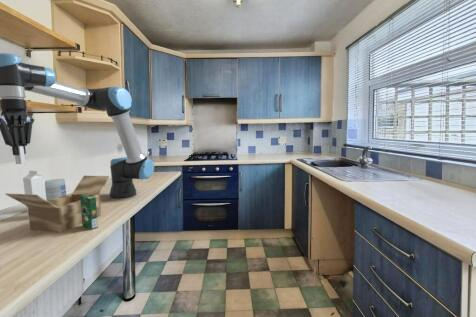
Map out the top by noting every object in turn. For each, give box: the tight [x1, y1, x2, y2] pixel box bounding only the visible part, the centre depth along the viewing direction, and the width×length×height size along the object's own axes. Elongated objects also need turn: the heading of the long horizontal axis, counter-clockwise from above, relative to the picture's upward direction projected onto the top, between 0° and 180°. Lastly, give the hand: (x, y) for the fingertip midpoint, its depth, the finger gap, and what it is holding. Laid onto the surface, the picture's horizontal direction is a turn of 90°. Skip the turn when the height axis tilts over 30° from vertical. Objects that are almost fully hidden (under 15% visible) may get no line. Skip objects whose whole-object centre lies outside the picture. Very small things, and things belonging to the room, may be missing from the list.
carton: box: [28, 192, 102, 233], centre depth 126 cm, size 22×16×10 cm
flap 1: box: [5, 192, 58, 208], centre depth 110 cm, size 10×15×1 cm
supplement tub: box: [44, 178, 67, 200], centre depth 150 cm, size 10×10×15 cm
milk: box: [22, 170, 46, 219], centre depth 135 cm, size 6×6×22 cm
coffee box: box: [80, 195, 99, 230], centre depth 118 cm, size 8×3×13 cm, turn 54°
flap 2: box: [72, 175, 110, 195], centre depth 139 cm, size 10×15×1 cm
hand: (20, 163), depth 106 cm, fingers closed
